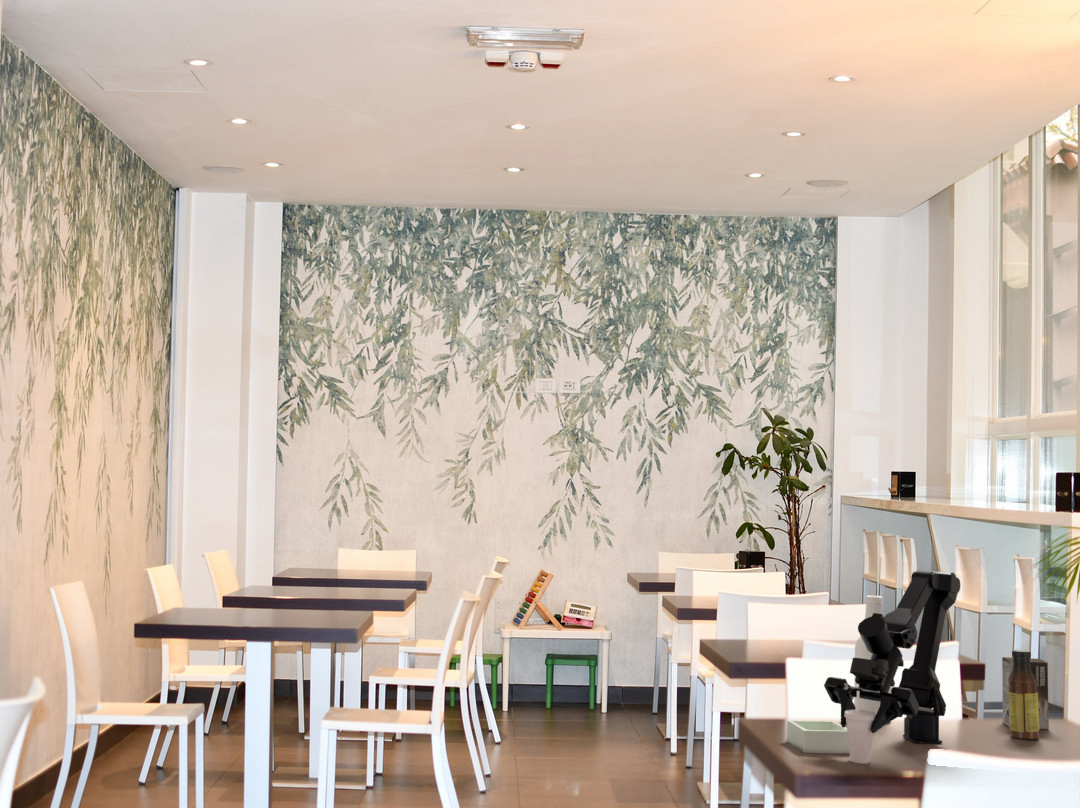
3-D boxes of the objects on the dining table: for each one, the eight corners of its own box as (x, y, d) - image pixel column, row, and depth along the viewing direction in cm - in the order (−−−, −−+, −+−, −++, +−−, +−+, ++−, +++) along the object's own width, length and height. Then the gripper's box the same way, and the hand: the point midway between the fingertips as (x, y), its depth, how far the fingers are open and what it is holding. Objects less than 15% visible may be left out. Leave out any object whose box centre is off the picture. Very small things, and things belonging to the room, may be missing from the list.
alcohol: (897, 724, 258) (899, 598, 260) (862, 723, 257) (864, 597, 260) (882, 716, 266) (883, 594, 269) (848, 716, 266) (850, 593, 268)
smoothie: (838, 757, 221) (839, 687, 222) (869, 757, 221) (869, 688, 223) (850, 764, 214) (851, 693, 216) (881, 765, 215) (882, 694, 216)
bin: (833, 741, 235) (833, 721, 236) (852, 753, 225) (853, 731, 225) (786, 741, 234) (787, 720, 234) (804, 752, 224) (804, 730, 224)
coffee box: (1039, 724, 264) (1039, 658, 266) (1049, 730, 258) (1049, 662, 259) (1001, 722, 265) (1001, 656, 267) (1010, 727, 259) (1010, 659, 260)
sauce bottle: (1039, 736, 249) (1039, 650, 251) (1039, 742, 244) (1039, 653, 245) (1008, 733, 252) (1008, 647, 254) (1008, 738, 246) (1008, 650, 248)
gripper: (828, 638, 229) (802, 696, 220) (913, 648, 216) (888, 711, 207) (845, 672, 234) (820, 730, 225) (929, 684, 222) (905, 747, 212)
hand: (857, 728), depth 217 cm, fingers closed on smoothie, 6 cm apart
